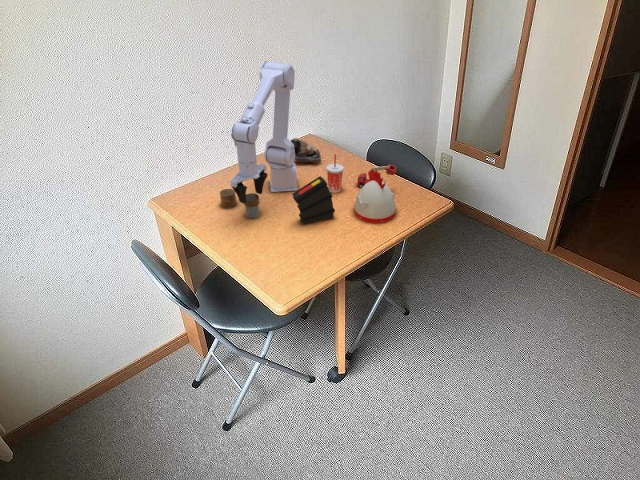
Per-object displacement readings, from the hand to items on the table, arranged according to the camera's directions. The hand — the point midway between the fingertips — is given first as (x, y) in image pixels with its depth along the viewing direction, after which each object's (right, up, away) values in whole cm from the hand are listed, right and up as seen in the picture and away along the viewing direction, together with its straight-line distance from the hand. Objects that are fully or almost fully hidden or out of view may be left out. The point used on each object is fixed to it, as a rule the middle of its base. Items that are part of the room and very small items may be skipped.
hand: (251, 197), depth 160 cm
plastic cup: (0, -5, +4) cm, 7 cm away
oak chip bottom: (-9, -1, +9) cm, 13 cm away
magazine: (+21, -7, +1) cm, 22 cm away
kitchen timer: (+41, -4, +5) cm, 42 cm away
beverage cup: (+28, +4, +18) cm, 34 cm away
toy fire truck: (+43, +5, +19) cm, 47 cm away
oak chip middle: (-9, 0, +8) cm, 12 cm away
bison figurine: (+43, +44, +26) cm, 67 cm away
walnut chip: (0, -2, +1) cm, 2 cm away
